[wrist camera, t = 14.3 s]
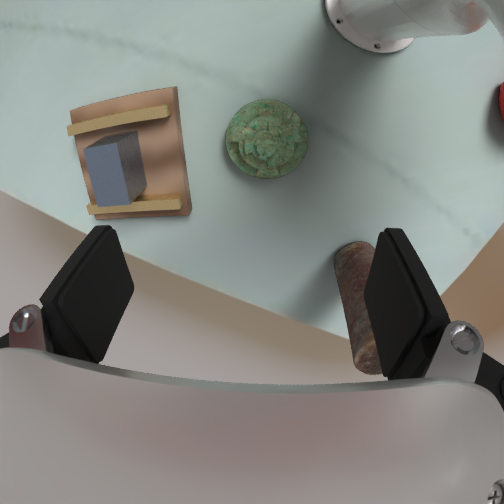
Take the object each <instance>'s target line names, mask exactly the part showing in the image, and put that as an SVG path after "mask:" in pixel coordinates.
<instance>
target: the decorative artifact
mask: <svg viewBox="0 0 504 504" xmlns="http://www.w3.org/2000/svg"><path fill="white" fill-rule="evenodd" d="M307 144H308V137H307V131H306V128H305V126H304V124H303V122H302V120H301V119H300V117H299V116H298V114H297V113H296V112H295V111H294V110H293V109H292V108H290V107H289V106H287V105H286V104H284V103H281V102H279V101H275V100H258V101H254V102H251V103H249V104H247V105H245V106H244V107H242V108H241V109H240V110H239V111H238V112H237V113H236V114H235V116H234V117H233V118H232V120H231V121H230V123H229V125H228V128H227V132H226V148H227V151H228V154H229V156H230V158H231V160H232V161H233V163H234V164H235V165H236V166H237V167H238V168H239V169H241V170H242V171H243V172H245V173H247V174H249V175H251V176H254V177H258V178H265V179H269V178H277V177H280V176H283V175H285V174H287V173H289V172H291V171H292V170H293V169H295V168H296V167H297V166H298V165H299V164H300V162H301V161H302V159H303V157H304V155H305V153H306V150H307Z"/></svg>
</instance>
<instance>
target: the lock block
mask: <svg viewBox="0 0 504 504" xmlns="http://www.w3.org/2000/svg"><path fill="white" fill-rule="evenodd" d="M83 152H84V156H85V160H86V165H87V169H88V173H89V177H90V181H91V184H92V188H93V192H94V195H95V199H96V202H97V206H98V207H107V206H119V205H130V204H131V203H132V202H133V201H134V200H135V199H136V197H137V196H138V195H139V194H140V193H141V192H142V191H143V189H144V188H145V187H146V186H147V182H146V176H145V171H144V166H143V161H142V155H141V149H140V144H139V137H138V131H131V132H125V133H119V134H114V135H109V136H105V137H103V138H102V139H100V140H98V141H96V142H95V143H93V144H91V145H89V146H88V147H86V148H84V149H83Z"/></svg>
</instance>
